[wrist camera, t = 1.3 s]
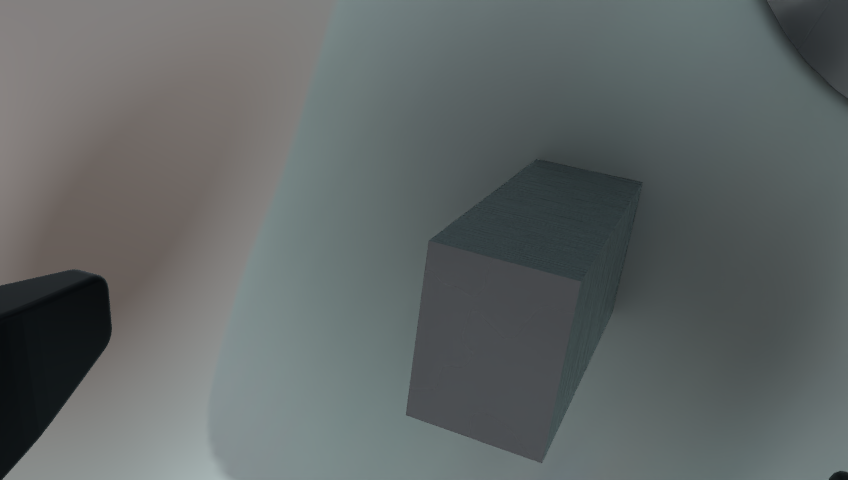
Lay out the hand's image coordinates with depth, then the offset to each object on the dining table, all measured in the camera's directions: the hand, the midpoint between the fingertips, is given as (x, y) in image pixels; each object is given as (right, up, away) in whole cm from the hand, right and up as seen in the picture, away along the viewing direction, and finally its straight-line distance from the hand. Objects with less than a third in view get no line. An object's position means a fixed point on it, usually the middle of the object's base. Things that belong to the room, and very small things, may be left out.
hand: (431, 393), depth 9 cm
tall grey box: (+4, +2, +13) cm, 14 cm away
